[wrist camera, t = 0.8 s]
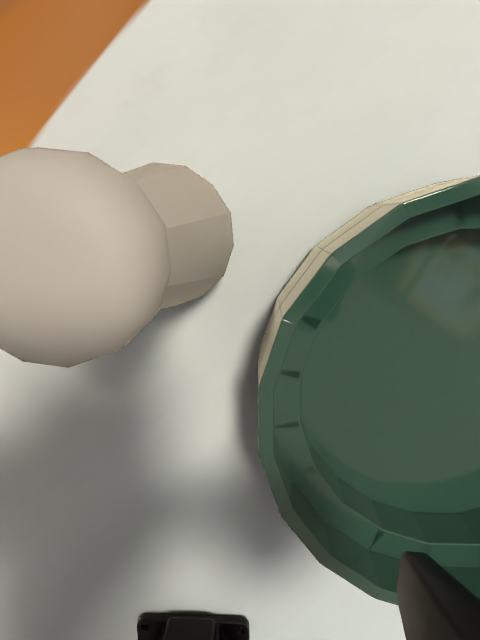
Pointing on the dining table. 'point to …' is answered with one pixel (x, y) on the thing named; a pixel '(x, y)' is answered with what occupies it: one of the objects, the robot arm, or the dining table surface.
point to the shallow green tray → (381, 391)
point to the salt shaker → (100, 251)
